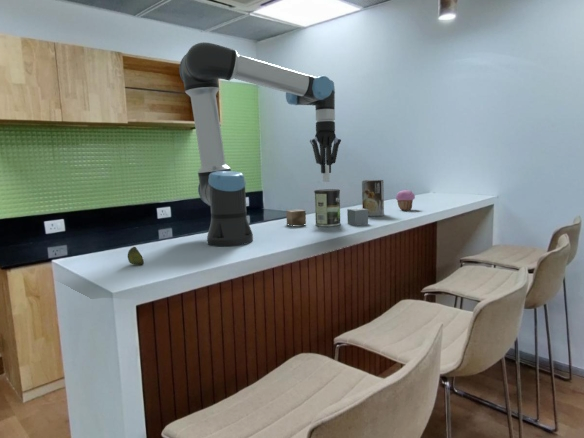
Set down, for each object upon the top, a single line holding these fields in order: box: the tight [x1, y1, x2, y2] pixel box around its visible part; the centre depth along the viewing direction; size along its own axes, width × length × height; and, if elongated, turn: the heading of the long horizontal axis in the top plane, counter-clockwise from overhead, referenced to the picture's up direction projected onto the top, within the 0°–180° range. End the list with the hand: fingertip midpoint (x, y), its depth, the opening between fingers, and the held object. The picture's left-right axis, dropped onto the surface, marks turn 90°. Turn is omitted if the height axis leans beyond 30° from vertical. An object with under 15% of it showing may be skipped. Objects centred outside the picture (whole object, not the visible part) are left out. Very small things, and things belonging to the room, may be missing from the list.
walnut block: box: [285, 208, 307, 227], centre depth 172 cm, size 6×6×6 cm
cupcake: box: [395, 189, 416, 211], centre depth 207 cm, size 9×9×10 cm
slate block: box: [346, 207, 369, 226], centre depth 169 cm, size 6×6×6 cm
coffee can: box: [313, 188, 341, 227], centre depth 169 cm, size 10×10×14 cm
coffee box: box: [361, 179, 385, 217], centre depth 192 cm, size 9×6×16 cm
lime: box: [127, 246, 145, 266], centre depth 112 cm, size 4×5×5 cm
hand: (326, 181), depth 167 cm, fingers closed
